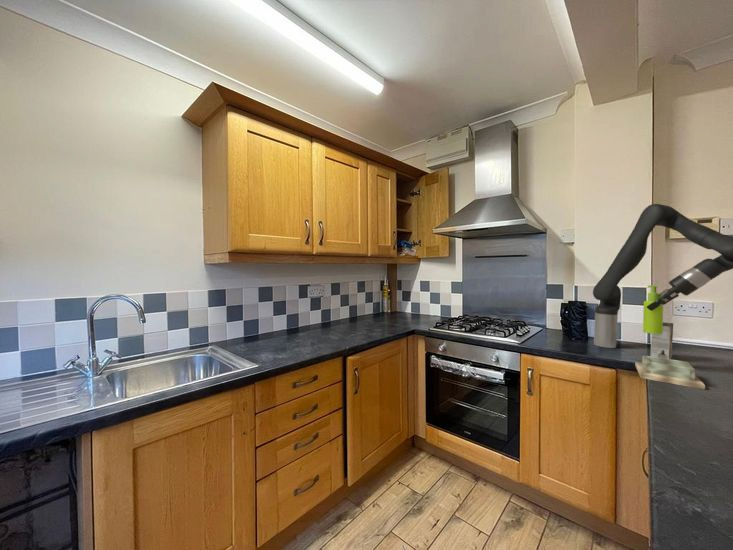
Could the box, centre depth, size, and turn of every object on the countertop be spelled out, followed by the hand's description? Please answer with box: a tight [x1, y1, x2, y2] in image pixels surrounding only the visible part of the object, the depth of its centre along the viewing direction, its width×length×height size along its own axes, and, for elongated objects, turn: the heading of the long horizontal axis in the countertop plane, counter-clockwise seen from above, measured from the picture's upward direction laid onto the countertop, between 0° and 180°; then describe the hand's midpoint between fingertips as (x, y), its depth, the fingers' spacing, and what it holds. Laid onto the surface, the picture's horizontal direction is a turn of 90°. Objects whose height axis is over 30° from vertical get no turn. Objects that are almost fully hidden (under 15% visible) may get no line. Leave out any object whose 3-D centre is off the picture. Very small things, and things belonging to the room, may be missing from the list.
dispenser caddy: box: [634, 355, 706, 390], centre depth 112 cm, size 16×18×6 cm
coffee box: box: [650, 321, 674, 359], centre depth 136 cm, size 9×6×16 cm
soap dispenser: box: [642, 284, 664, 334], centre depth 125 cm, size 6×7×20 cm
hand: (647, 308), depth 125 cm, fingers closed on soap dispenser, 6 cm apart
